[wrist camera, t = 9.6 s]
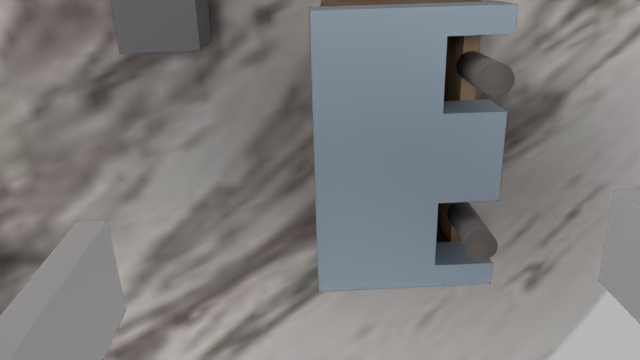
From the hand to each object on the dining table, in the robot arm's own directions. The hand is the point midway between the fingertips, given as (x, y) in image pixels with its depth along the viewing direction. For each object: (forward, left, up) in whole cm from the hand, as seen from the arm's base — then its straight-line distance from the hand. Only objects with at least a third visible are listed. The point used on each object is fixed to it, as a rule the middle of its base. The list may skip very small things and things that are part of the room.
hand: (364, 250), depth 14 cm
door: (+2, +4, -14) cm, 15 cm away
